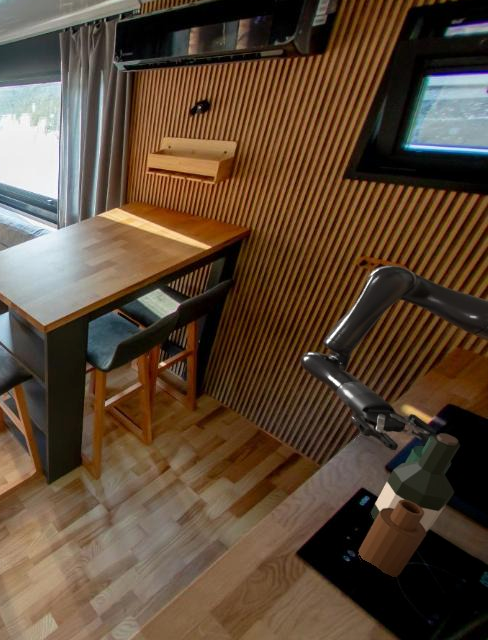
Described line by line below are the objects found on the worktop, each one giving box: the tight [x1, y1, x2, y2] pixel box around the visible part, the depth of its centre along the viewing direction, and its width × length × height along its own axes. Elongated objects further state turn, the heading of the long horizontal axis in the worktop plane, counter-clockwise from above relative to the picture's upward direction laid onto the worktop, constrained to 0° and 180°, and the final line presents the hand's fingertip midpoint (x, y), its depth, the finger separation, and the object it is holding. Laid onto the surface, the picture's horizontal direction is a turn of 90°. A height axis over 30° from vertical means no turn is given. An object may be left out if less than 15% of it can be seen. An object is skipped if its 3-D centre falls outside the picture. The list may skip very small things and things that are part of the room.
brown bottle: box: [358, 500, 427, 578], centre depth 76 cm, size 6×6×20 cm
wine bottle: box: [370, 432, 461, 535], centre depth 79 cm, size 8×8×30 cm
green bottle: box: [404, 436, 452, 475], centre depth 87 cm, size 6×6×18 cm
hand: (417, 448), depth 89 cm, fingers open, 8 cm apart
